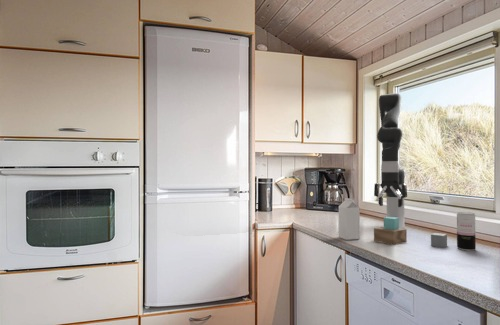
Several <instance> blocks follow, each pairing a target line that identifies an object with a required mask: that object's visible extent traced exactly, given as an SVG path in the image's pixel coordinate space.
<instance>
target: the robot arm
mask: <svg viewBox="0 0 500 325" xmlns="http://www.w3.org/2000/svg"><path fill="white" fill-rule="evenodd" d="M402 105H403V101H402V96H401V94H400V93H388V94H386V93H385V94H381V95H380V96H379V98H378V106H379V107H378V108H379V114H380V115H379V117H380V124H381V125H380V126H381V127H380V128H379V129H378V130H377V135H376V136H377V137H376V138H377V140H378V142H379V143H380V144H382V145H381V146H382V150H381V165H380V166H381V167H380V168H381V169H380V172H381V174H380V175H381V177H380V178H381V179H380V180H381V181H380V183H374V187H373V188H374V189H373V190H374V192H373V196H374V197H377V199H378V200H377V202H378V205H379V206H380V207H382V206H384V197H383V196H384V195H386V196H385V197H386V217H396V218H399V228H402V229H405V198H407V197H408V189H407V188H408V187H407V184H405V177H406V175H405V170H404V168H401V167H399V150H400V148H401V141H402V137H403V131H402V129H401V128H399V118H400V115H401V110H402ZM380 188H381V191H380Z"/></svg>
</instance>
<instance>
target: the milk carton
mask: <svg viewBox="0 0 500 325" xmlns="http://www.w3.org/2000/svg"><path fill="white" fill-rule="evenodd" d="M360 213H361V212H360V206H358V205H357V203H356V202H355V201H354V199H353V198H347V197H345V198H344V201H342V202H341V204H339V205H338V238H340V239H343V240H345V241H349V240H350V241H351V240H360V239H361V237H360V235H361V232H360V228H361V227H360V218H361V217H360Z"/></svg>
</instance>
